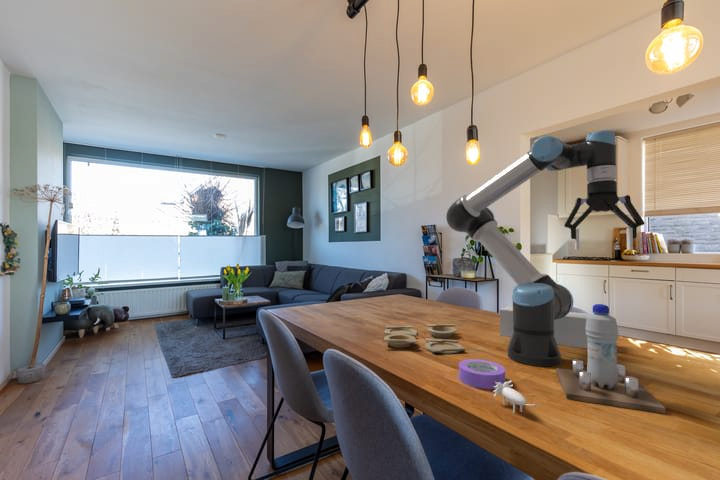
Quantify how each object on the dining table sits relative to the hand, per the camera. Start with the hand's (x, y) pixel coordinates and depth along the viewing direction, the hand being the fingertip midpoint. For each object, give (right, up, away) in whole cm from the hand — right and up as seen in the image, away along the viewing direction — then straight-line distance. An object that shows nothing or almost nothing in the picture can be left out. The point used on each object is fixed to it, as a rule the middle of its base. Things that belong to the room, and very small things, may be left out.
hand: (602, 249), depth 104 cm
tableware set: (-52, -36, +24) cm, 68 cm away
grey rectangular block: (-3, -36, +25) cm, 44 cm away
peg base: (-16, -34, -21) cm, 43 cm away
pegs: (-16, -33, -21) cm, 42 cm away
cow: (-42, -34, -32) cm, 63 cm away
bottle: (-16, -33, -21) cm, 42 cm away
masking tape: (-43, -35, -15) cm, 57 cm away
